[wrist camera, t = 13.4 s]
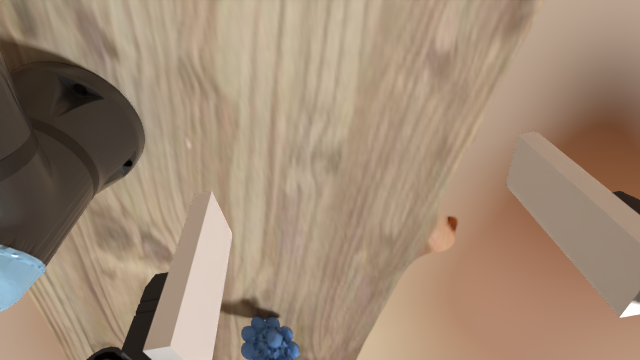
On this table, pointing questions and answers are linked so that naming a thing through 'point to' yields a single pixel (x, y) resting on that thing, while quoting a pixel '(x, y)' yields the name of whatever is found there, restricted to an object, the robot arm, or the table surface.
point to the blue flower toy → (268, 341)
